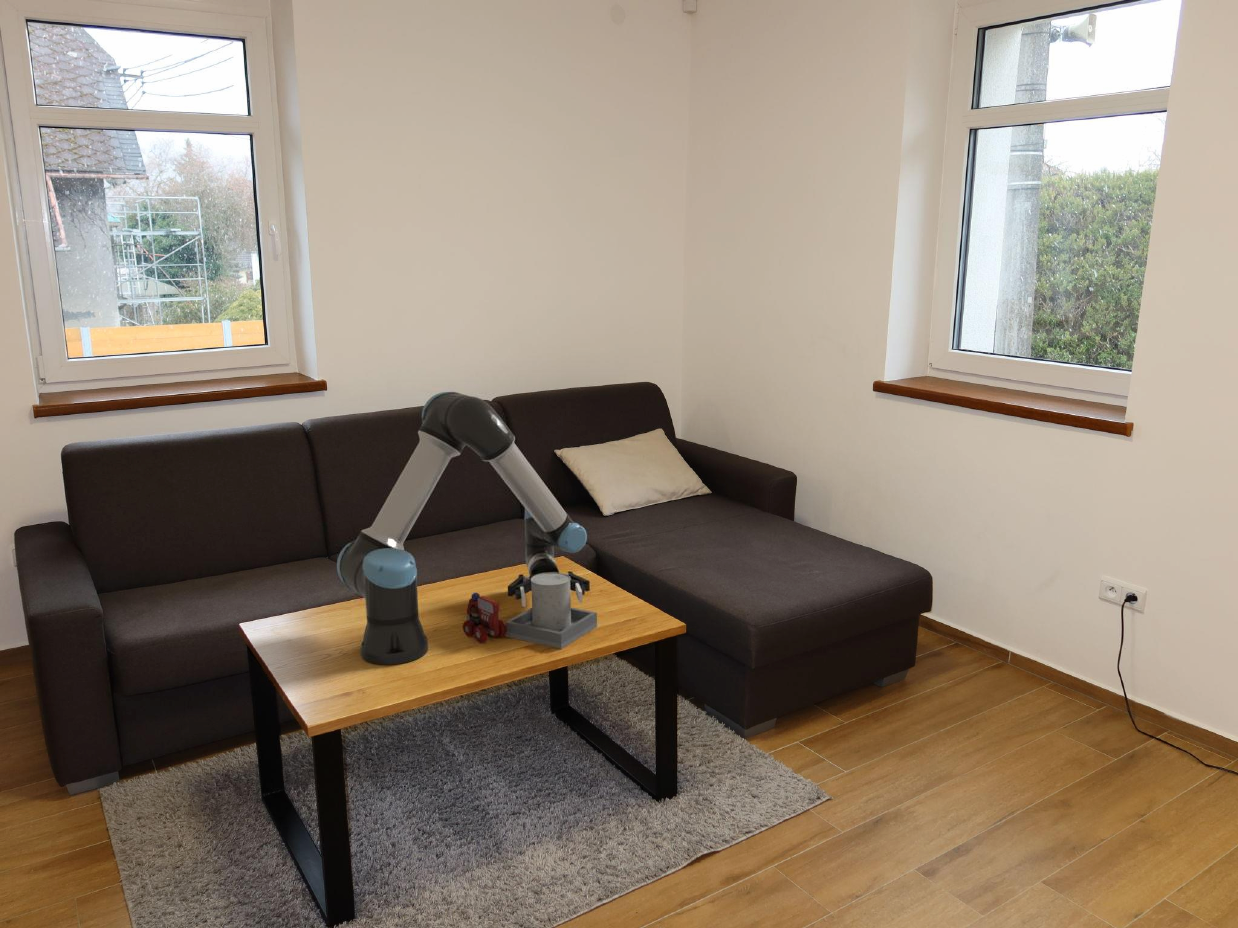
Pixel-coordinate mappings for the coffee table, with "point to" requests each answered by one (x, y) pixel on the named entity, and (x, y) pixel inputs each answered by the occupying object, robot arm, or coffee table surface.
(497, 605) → the toy fire truck
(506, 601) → the coffee table surface
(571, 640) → the tray
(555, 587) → the grey speckled cylinder
